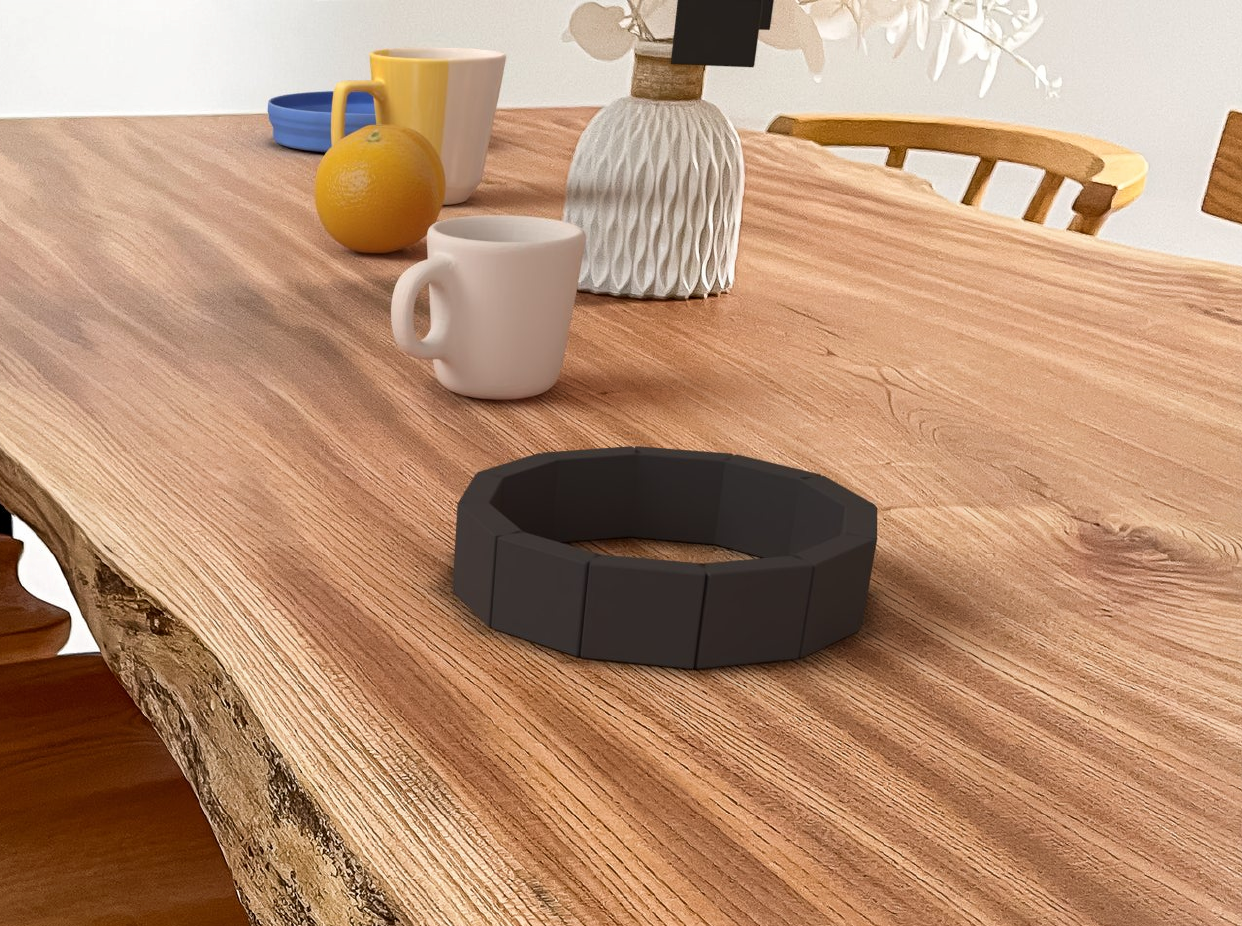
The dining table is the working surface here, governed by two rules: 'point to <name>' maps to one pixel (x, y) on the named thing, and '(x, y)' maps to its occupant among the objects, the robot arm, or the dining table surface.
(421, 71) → the mug
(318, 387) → the dining table surface
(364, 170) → the fruit
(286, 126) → the bowl
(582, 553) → the ring
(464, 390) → the cup
